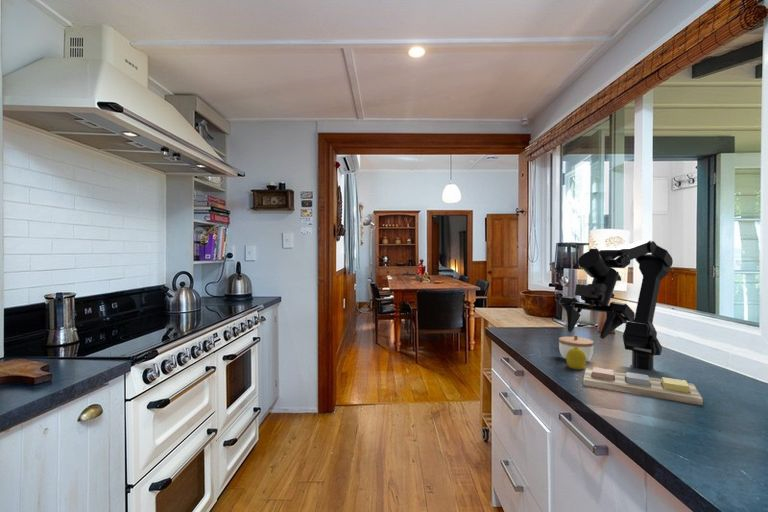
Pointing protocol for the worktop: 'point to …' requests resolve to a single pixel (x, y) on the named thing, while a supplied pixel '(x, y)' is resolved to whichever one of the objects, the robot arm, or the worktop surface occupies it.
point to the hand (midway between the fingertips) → (584, 334)
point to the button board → (643, 388)
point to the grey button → (637, 379)
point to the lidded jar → (576, 345)
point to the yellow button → (675, 384)
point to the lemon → (576, 358)
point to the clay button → (603, 373)
